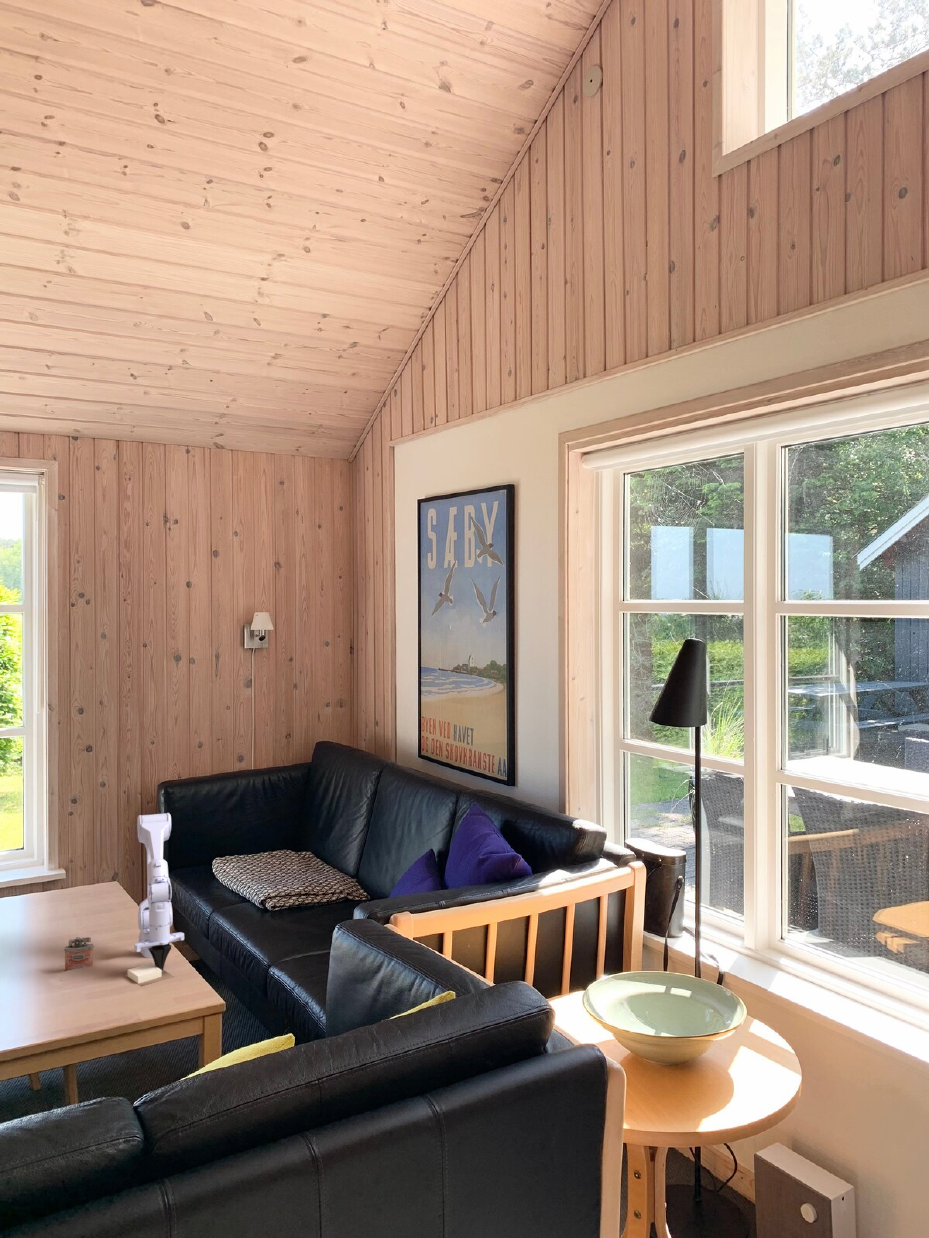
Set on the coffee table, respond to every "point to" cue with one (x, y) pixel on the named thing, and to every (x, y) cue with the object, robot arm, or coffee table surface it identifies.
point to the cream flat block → (144, 973)
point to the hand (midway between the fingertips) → (159, 969)
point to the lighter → (78, 953)
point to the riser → (164, 976)
